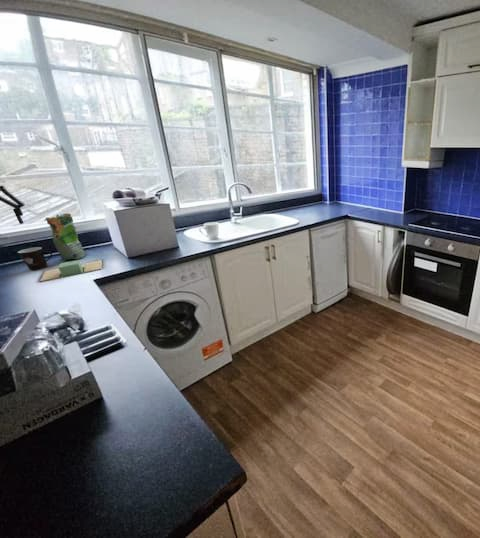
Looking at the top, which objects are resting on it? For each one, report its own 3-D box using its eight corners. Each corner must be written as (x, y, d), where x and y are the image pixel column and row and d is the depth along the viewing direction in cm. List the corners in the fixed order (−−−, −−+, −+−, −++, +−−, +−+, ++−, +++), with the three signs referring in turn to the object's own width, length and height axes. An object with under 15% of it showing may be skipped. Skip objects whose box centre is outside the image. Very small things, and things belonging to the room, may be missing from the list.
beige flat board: (40, 283, 135) (39, 281, 135) (45, 273, 147) (44, 270, 146) (101, 270, 148) (100, 268, 147) (102, 262, 159) (101, 260, 159)
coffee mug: (22, 270, 150) (12, 252, 146) (41, 264, 158) (33, 247, 154) (40, 272, 148) (31, 253, 144) (59, 265, 156) (51, 247, 152)
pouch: (87, 253, 174) (69, 211, 164) (89, 257, 166) (71, 214, 156) (61, 258, 166) (41, 214, 157) (62, 263, 159) (41, 218, 149)
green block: (63, 278, 140) (58, 267, 138) (64, 273, 145) (60, 263, 143) (82, 274, 144) (77, 263, 142) (83, 270, 149) (78, 259, 147)
